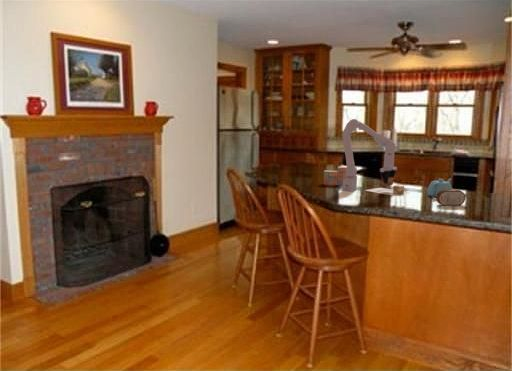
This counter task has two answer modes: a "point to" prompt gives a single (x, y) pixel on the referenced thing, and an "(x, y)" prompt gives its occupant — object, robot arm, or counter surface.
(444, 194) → the tin
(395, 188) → the maple block
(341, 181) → the stack of blocks
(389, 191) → the board
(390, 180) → the walnut block
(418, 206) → the counter surface
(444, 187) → the teapot
